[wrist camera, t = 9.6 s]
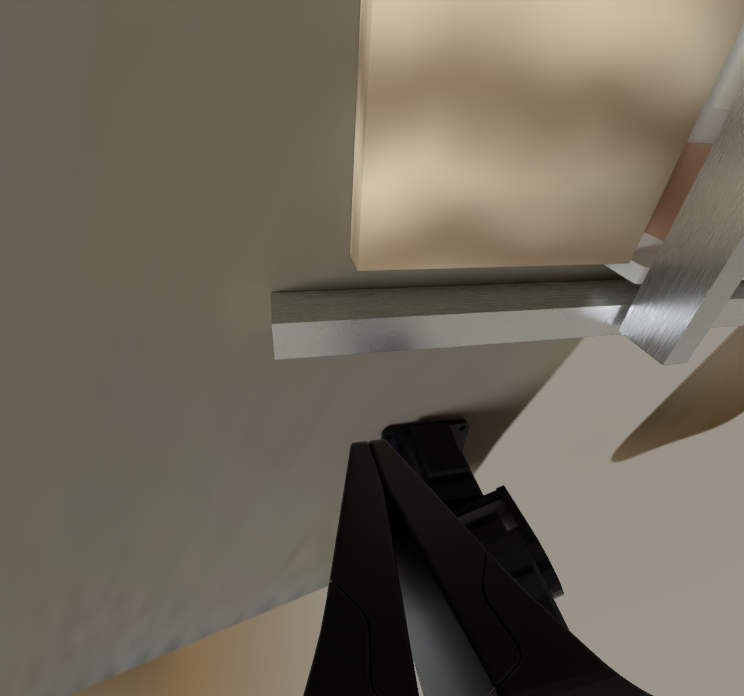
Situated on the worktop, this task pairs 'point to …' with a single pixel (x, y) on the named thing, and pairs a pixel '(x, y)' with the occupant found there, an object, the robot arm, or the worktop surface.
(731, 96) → the beige block
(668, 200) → the salmon pink block
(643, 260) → the box
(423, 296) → the rails
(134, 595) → the worktop surface
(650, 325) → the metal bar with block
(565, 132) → the board
